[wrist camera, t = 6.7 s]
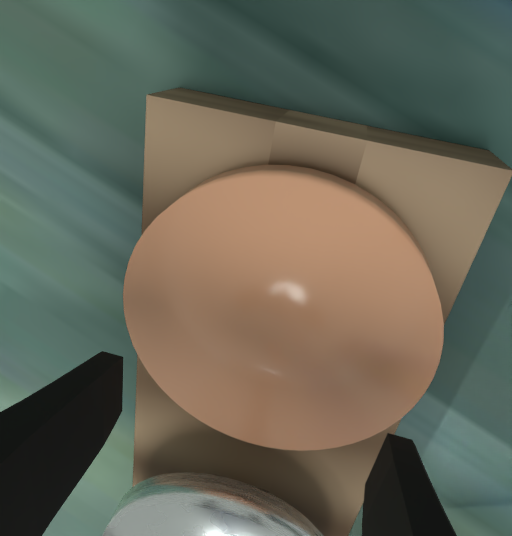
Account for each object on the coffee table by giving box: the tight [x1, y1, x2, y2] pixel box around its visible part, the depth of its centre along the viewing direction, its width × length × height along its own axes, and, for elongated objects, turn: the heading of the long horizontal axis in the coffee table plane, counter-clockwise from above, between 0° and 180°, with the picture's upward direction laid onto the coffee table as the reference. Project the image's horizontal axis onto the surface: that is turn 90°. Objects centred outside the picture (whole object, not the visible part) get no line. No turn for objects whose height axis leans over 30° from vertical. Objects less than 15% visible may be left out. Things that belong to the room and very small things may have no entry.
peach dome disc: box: [123, 165, 444, 451], centre depth 17 cm, size 11×11×4 cm
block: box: [133, 88, 512, 536], centre depth 21 cm, size 26×12×3 cm, turn 171°
